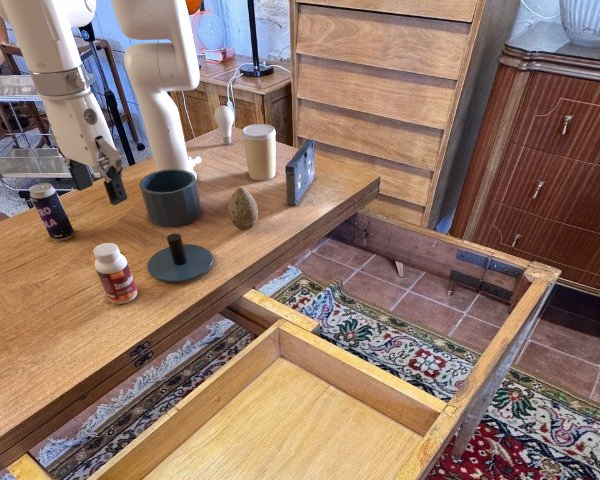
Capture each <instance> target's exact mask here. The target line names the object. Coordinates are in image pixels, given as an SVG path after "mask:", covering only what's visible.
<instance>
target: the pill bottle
mask: <svg viewBox="0 0 600 480" xmlns="http://www.w3.org/2000/svg"><path fill="white" fill-rule="evenodd" d="M92 253H93V255H94V258H95V261H94V268H95V272H96V273H97V276H98V277H99V280H100V282H101V285H102V287H103V290H104V293H105V295H106V297H107V299H108V301H110V303H113V304H118V305H122V304H127V303H130V302H131V301H133V300H134V299H136V297H137V295H138V288H137V285H136V283H135V280H134V278H133V274H132V272H131V269H130V266H129V263H128V261H127V259H126V257H125V255H124V254H122V253H121V251H120V249H119V247H118V245H117V244H116V243H113V242H104V243H101V244H98V245H97V246H95V247H94V248H93V251H92Z"/></svg>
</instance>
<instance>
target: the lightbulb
mask: <svg viewBox="0 0 600 480" xmlns="http://www.w3.org/2000/svg"><path fill="white" fill-rule="evenodd" d="M213 115H214V116H213V118H214V122H215V124H216V125H217V127H218V129H219V131H220V134H221V137H222V141H223V143H224V144H225V146H228V145H230V144H231V143H232V127H233V124H234V122H235V121H234V120H235V116H234V112H233V111H232V109H231V108H230V107H228V106H227V105H219V106H218V107H216V109H215V111H214V114H213Z"/></svg>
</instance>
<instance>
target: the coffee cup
mask: <svg viewBox="0 0 600 480" xmlns="http://www.w3.org/2000/svg"><path fill="white" fill-rule="evenodd" d="M276 135H277V132H276V129H275V127H274V126H272V125H270V124H268V123H267V124H266V123H254V124H249V125H246V126H244V128H243V129H242V132H241V137H242V139H243V140H242V141H243V147H244V154H245V158H246V165H247V170H248V176H249V178H251V179H252V180H255V181H267V180H271V179H272V178H274V177H275V176H276Z"/></svg>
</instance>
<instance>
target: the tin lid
mask: <svg viewBox="0 0 600 480" xmlns="http://www.w3.org/2000/svg"><path fill="white" fill-rule="evenodd" d="M166 241H167V244H168V246H167V247H165V248H162V249H160V250H159V251H157V252H156V253H154V254H153V255H152V256H151V257H150V259H148V262H147V271H148V273H149V275H150V276H151V277H152V278H154V280H157V281H159V282H162V283H168V284H179V283H181V284H182V283H186V282H191V281H194V280H196V279H198V278H201V277H202V276H204V275H205V274H207V273H208V272H209V271H210V270H211V268H212V266H213V263H214V259H213V255H212V253H211V252H210V250H208V249H207V248H206V247H204V246H201V245H197V244H191V243H190V244H189V243H185V244H184V242H183V240H182V235H181V234H179V233H171V234H168V235H167V236H166Z"/></svg>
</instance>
